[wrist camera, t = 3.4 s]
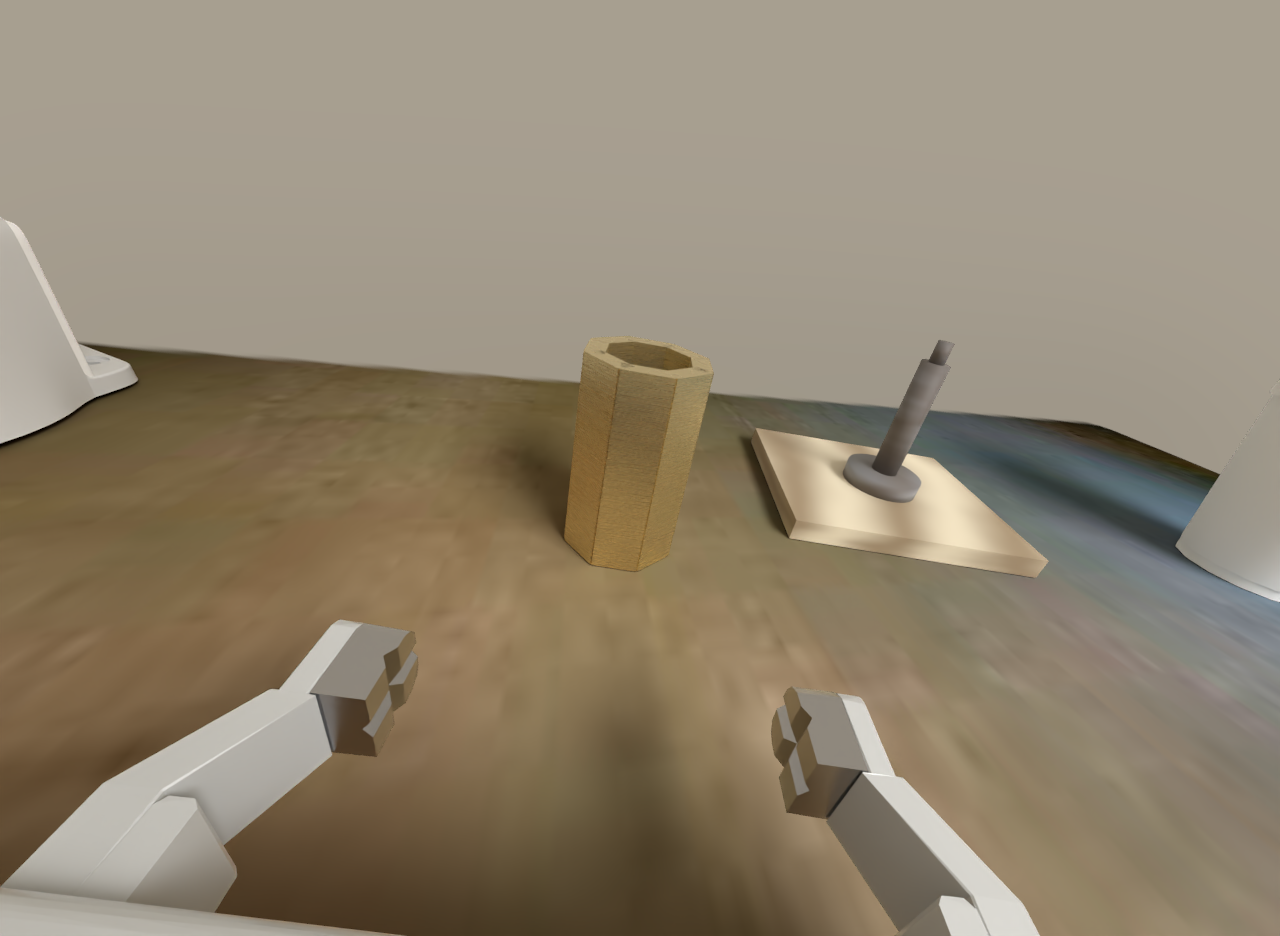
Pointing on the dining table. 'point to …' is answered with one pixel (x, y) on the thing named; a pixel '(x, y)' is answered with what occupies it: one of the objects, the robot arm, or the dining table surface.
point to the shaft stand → (889, 492)
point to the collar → (633, 448)
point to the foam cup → (1243, 512)
